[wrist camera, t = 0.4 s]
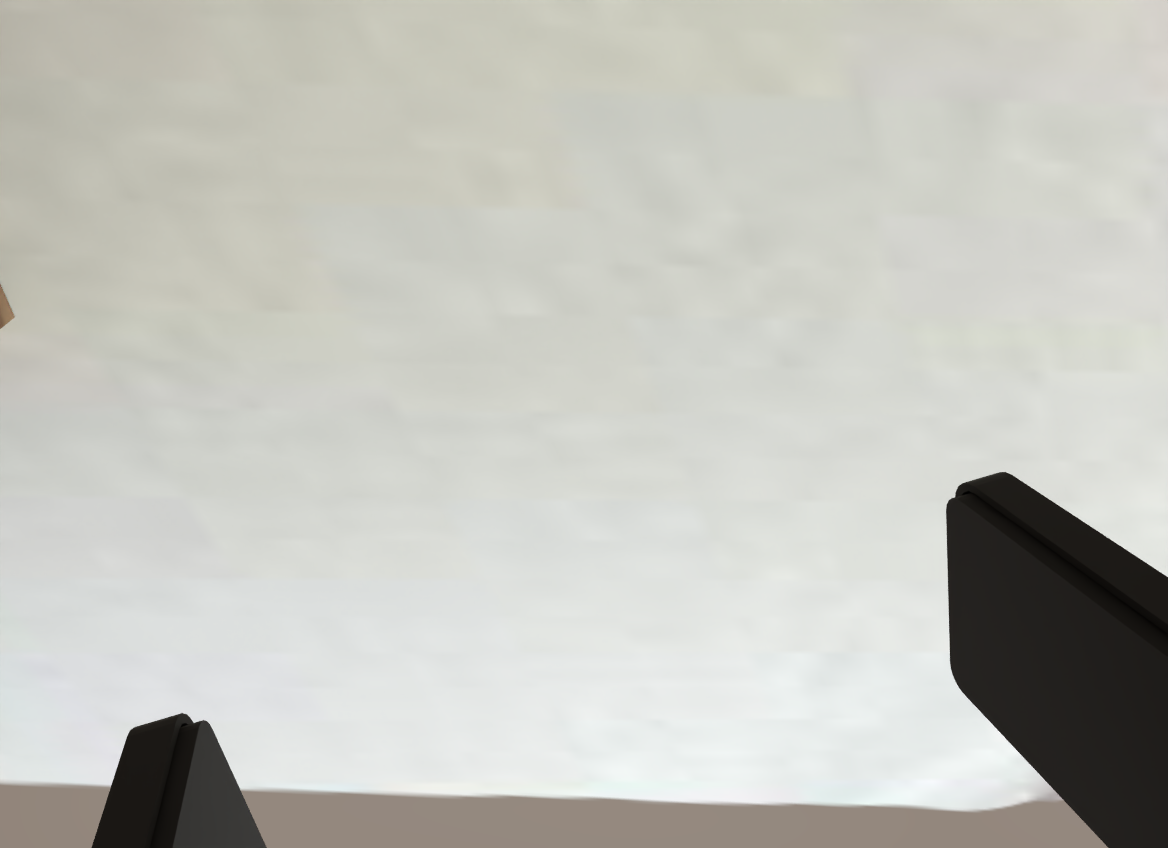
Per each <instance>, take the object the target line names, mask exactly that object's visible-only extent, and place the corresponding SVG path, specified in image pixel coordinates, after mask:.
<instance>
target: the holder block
mask: <svg viewBox="0 0 1168 848" xmlns="http://www.w3.org/2000/svg"><path fill="white" fill-rule="evenodd" d="M13 318H14V314H13V312H12V310H11V308H10V305H9V303H8V301H7V298H6V296H5V294H4V292H3V289H2V287H1V285H0V329H1V328H2V327H3V326H4V325H6V324H7V323H8V322H9V321H11V320H12V319H13Z"/></svg>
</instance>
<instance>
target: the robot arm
mask: <svg viewBox="0 0 1168 848" xmlns="http://www.w3.org/2000/svg"><path fill="white" fill-rule="evenodd" d="M946 519H947V558H948V596H949V634H950V664H951V670H952V673H953V676H954V679H955V681H956V683H957V685H958V686H959V688H960V689H961V691H962V692H963V693H964V694H965V695H966V697H967V698H968V699H969V700H970V701H971V702H972V703H973V704H974V705H975V706H976V707H977V708H978V709H979V710H980V711H981V713H982V714H983V715H984V716H985V717H986V718H987V719H988V720H989V721H990V722H991V723H992V724H993V725H994V726H995V727H996V728H997V730H998V731H999V732H1000V733H1001V734H1002V735H1003V736H1004V737H1005V738H1006V739H1007V740H1008V741H1009V742H1010V743H1011V744H1012V746H1013V747H1014V748H1015V749H1016V750H1017V751H1018V752H1019V753H1020V754H1021V755H1022V756H1023V757H1024V758H1025V759H1026V760H1027V761H1028V763H1029V764H1030V765H1031V766H1032V767H1033V768H1034V769H1035V770H1036V771H1037V772H1038V773H1039V774H1040V775H1041V776H1042V777H1043V778H1044V780H1045V781H1046V782H1047V783H1048V784H1049V785H1050V786H1051V787H1052V788H1053V789H1054V790H1055V791H1056V792H1057V793H1058V794H1059V796H1060V797H1061V798H1062V799H1063V800H1064V801H1065V802H1066V803H1067V804H1068V805H1069V806H1070V807H1071V808H1072V809H1073V810H1074V811H1075V813H1076V814H1077V815H1078V816H1079V817H1080V818H1081V819H1082V820H1083V821H1084V822H1085V823H1086V824H1087V825H1088V826H1089V827H1090V828H1091V830H1092V831H1093V832H1094V833H1095V834H1096V835H1097V836H1098V837H1099V838H1100V839H1101V840H1102V841H1103V842H1104V843H1105V844H1106V846H1107V847H1108V848H1168V577H1167V576H1165V575H1163V574H1162V573H1160V572H1159V571H1157V570H1156V569H1154V568H1153V567H1151V566H1150V565H1148V564H1147V563H1145V562H1144V561H1142V560H1141V559H1139V558H1138V557H1136V556H1135V555H1133V554H1131V553H1130V552H1128V551H1127V550H1125V549H1124V548H1122V547H1121V546H1119V545H1118V544H1116V543H1115V542H1113V541H1112V540H1110V539H1109V538H1107V537H1106V536H1104V535H1103V534H1101V533H1099V532H1098V531H1096V530H1095V529H1093V528H1092V527H1090V526H1089V525H1087V524H1086V523H1084V522H1083V521H1081V520H1080V519H1078V518H1077V517H1075V516H1074V515H1072V514H1071V513H1069V512H1067V511H1066V510H1064V509H1063V508H1061V507H1060V506H1058V505H1057V504H1055V503H1054V502H1052V501H1051V500H1049V499H1048V498H1046V497H1045V496H1043V495H1042V494H1040V493H1039V492H1037V491H1035V490H1034V489H1032V488H1031V487H1029V486H1028V485H1026V484H1025V483H1023V482H1022V481H1020V480H1019V479H1017V478H1016V477H1014V476H1013V475H1011V474H1008V473H1006V472H1000V473H996V474H993V475H989V476H986V477H983V478H979V479H976V480H972V481H969V482H966V483H962V484H961V485H960V486H958V489H957V491H956V495H955V498H952V499H950V500H949V501H948V503H947V509H946ZM92 848H266V846H265V843H264V841H263V839H262V837H261V834H260V832H259V830H258V828H257V826H256V824H255V821H254V819H253V817H252V815H251V813H250V810H249V808H248V806H247V804H246V802H245V799H244V798H243V795H242V793H241V791H240V788H239V786H238V784H237V782H236V780H235V778H234V775H233V773H232V771H231V769H230V767H229V764H228V762H227V760H226V758H225V756H224V753H223V751H222V749H221V747H220V745H219V743H218V740H217V738H216V736H215V734H214V732H213V729H212V728H211V726H210V724H209V723H208V722H207V721H204V720H203V721H199V722H196V723H193V721H192V720H191V718H190V717H189V716H188V715H187V714H183V713H181V714H178V715H175V716H171V717H168V718H165V719H161V720H158V721H154V722H151V723H148V724H144V725H141V726H137V727H134V728H133V729H131V730H130V732H129V734H128V736H127V739H126V742H125V745H124V748H123V751H122V754H121V758H120V761H119V764H118V767H117V770H116V773H115V776H114V779H113V783H112V786H111V789H110V792H109V795H108V798H107V801H106V805H105V808H104V811H103V814H102V817H101V820H100V823H99V826H98V829H97V833H96V836H95V839H94V842H93V845H92Z"/></svg>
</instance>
